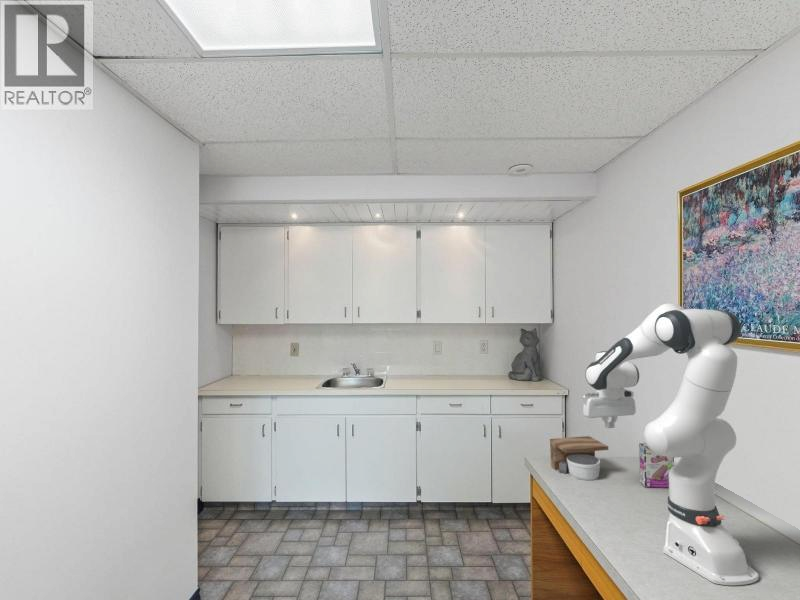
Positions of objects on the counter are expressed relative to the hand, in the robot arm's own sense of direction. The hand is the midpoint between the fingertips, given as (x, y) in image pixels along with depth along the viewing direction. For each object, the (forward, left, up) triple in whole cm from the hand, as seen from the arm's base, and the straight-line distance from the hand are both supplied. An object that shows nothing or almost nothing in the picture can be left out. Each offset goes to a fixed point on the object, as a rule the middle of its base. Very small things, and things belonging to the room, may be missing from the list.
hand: (610, 427), depth 159 cm
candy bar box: (+1, -20, -25) cm, 32 cm away
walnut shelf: (+20, +2, -25) cm, 32 cm away
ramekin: (+16, +2, -25) cm, 30 cm away
